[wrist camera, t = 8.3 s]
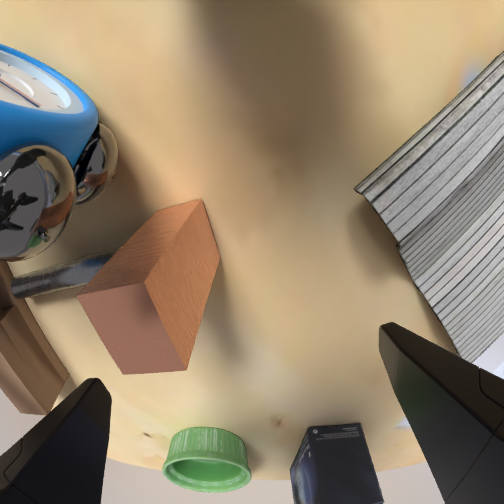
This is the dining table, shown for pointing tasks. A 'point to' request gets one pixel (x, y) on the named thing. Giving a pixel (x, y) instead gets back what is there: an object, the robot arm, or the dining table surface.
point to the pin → (143, 289)
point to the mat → (453, 211)
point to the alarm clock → (46, 154)
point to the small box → (334, 468)
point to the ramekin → (207, 460)
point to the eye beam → (26, 355)
